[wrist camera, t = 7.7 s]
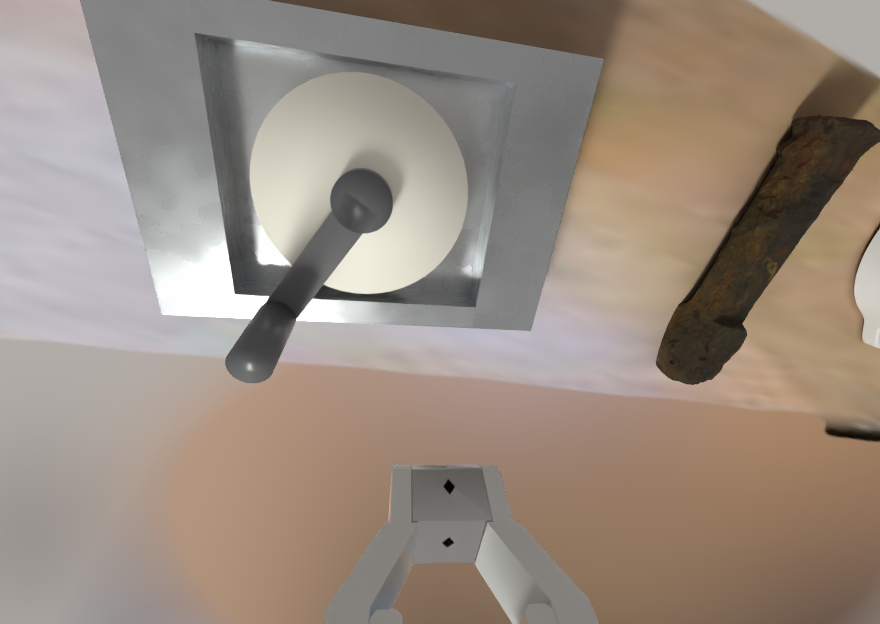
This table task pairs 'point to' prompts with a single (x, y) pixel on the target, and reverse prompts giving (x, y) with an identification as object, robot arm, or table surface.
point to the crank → (348, 199)
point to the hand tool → (762, 244)
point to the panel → (272, 77)
